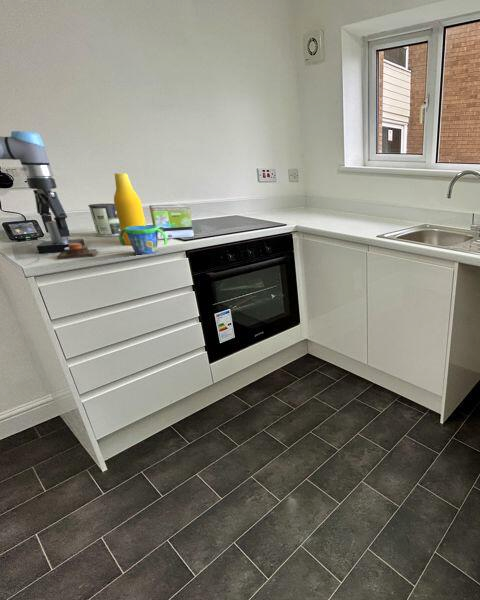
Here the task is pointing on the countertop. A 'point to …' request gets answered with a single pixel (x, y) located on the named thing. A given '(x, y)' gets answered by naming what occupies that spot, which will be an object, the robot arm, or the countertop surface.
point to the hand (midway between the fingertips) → (58, 234)
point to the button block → (77, 253)
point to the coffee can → (105, 219)
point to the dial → (55, 233)
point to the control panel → (56, 246)
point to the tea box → (172, 220)
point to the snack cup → (143, 238)
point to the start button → (75, 246)
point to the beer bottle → (127, 205)
